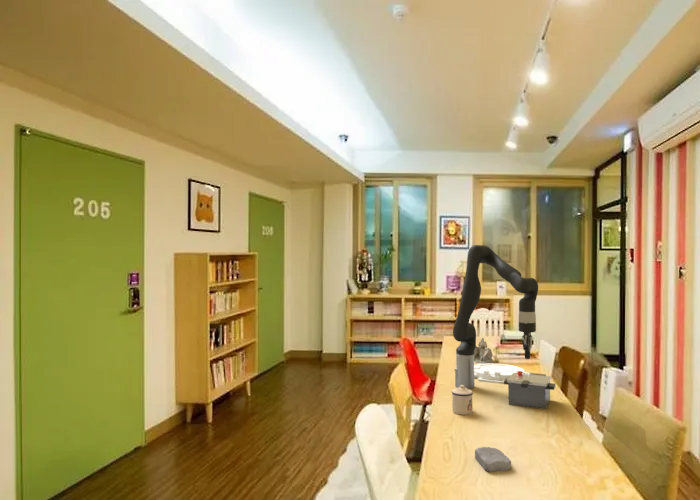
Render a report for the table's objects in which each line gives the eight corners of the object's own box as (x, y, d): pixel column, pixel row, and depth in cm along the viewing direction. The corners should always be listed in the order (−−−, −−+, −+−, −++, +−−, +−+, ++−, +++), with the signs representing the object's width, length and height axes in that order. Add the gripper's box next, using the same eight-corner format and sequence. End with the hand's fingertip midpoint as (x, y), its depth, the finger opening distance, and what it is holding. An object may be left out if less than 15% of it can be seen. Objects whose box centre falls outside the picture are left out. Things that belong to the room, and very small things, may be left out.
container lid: (528, 372, 292) (528, 362, 292) (519, 386, 261) (519, 374, 261) (478, 367, 305) (478, 357, 305) (463, 379, 274) (463, 369, 274)
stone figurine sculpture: (465, 358, 329) (466, 336, 328) (490, 359, 328) (491, 337, 327) (468, 365, 314) (469, 341, 313) (494, 366, 312) (495, 343, 311)
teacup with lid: (471, 416, 211) (471, 388, 212) (450, 414, 214) (450, 387, 215) (474, 407, 223) (474, 382, 223) (454, 406, 226) (454, 380, 226)
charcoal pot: (501, 403, 229) (501, 381, 229) (508, 394, 243) (508, 374, 243) (552, 410, 218) (552, 387, 218) (556, 400, 232) (556, 379, 232)
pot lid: (504, 385, 222) (504, 379, 222) (514, 374, 243) (514, 368, 243) (544, 390, 214) (544, 383, 214) (551, 378, 235) (551, 372, 235)
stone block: (499, 461, 169) (471, 457, 168) (501, 448, 169) (474, 443, 168) (514, 478, 157) (484, 473, 156) (517, 463, 157) (487, 459, 156)
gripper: (521, 319, 235) (521, 355, 235) (516, 322, 224) (516, 360, 224) (537, 319, 232) (538, 356, 232) (533, 323, 220) (533, 362, 220)
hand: (527, 358), depth 228 cm, fingers closed
